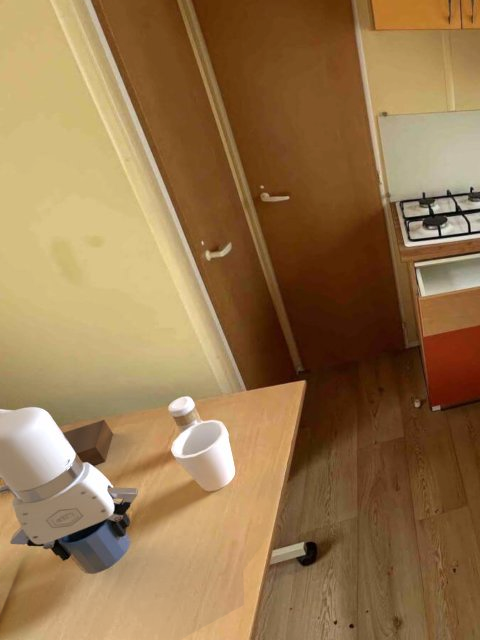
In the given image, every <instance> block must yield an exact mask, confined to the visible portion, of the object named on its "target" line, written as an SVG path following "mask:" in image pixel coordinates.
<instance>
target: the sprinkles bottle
mask: <svg viewBox="0 0 480 640" xmlns="http://www.w3.org/2000/svg"><path fill="white" fill-rule="evenodd" d="M167 410H168V412H169V415H170V416H171V417H172V418H173V420H174V422H175V425H176V426H177V428H178V431H179V433H180V434H181V433H182V432H184V431H185V430H186V429H188V428H189V427H191V426H193V425H195V424H198V423H200V422H203V421H204V420H203V419H202V418H201V416H200V415H199V412H198V410H197V409H196V405H195V402H194V400H193V398H192V397H191V396H181V397H178V398H176V399H174V400H173V401H172V402H171V403H169V405H168V406H167Z"/></svg>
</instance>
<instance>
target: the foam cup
mask: <svg viewBox="0 0 480 640" xmlns="http://www.w3.org/2000/svg"><path fill="white" fill-rule="evenodd" d="M202 421H203V422H200V423H198V424H195V425H193V426H191V427H189V428H188V429H186V430H185V431H184V432H182V433H181V432H180V433H179V434H178V436H177V437H176V438H175V439H174V440H173V442H172V445H171V448H170V452H171V453H172V455H173V457H174V458H175V461H176V462H177V464H178V465H180V466H181V467H183V469H184V470H185V471H186V472H187V473H188V474H189V476H191V477H192V479H193V480H194V481H195V482H196V484H198V485H199V486H200V488H201V489H202V490H203V491H205V492H209V493H210V492H216V491H218V490H219V491H220V489H223V488H224V487H226V486H227V485H228V484H230V483H231V482H232V480H233V478H234V477H235V474H236V467H235V462H234V458H233V457H234V456H233V453H232V448H231V444H230V439H229V432H228V429H227V427H226V426H225V424H224V423H223V421H221V420H216V419H210V420H202Z"/></svg>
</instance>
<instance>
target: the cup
mask: <svg viewBox="0 0 480 640" xmlns="http://www.w3.org/2000/svg"><path fill="white" fill-rule="evenodd" d="M131 540H132V539H131V537H130V535H129V533H128V532H127V531H126V535H125V536H123V537H119V535H118V534H117V533H116V531H115V530H114V528H113V527H112V520H108V519H105V520H104V521H101V522H99V523H97V524H94V525H92V526H89V527H87V528H84V529H82V530H79V531H77V532H74V533H72V534H69V535H67V536H64V537H62V538H59V539H58V541H59V543H60V545H61V546H62V547H63V548H64V549H65V551H66V552H67V553H68V554H69V556H70V558H71V559H72V561H73V562H74V563H75V564H76V565H77V567H79V570H81V571H82V572H83V573H84V574H86V575H87V574H88V575H95V574H98V573H101V572H104V571H106V570H108V569H110V568H111V567H113V566H114V565H116V564H117V563H118V562H119V561H120V560H121V559H122V558H123V557H124V556H125V555H126V554H127V552H128V550H129V548H130V546H131Z"/></svg>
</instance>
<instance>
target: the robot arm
mask: <svg viewBox="0 0 480 640" xmlns="http://www.w3.org/2000/svg"><path fill="white" fill-rule="evenodd" d="M63 433H64V432H62V430H61V429H60V427H59V426H58V424H57V423H56V421H55V419H53V417H52V415H51V414H50V413H49V412H48V411H47V410H45V409H44V408H41V407H37V406H28V407H22V408H18V409H17V408H16V409H2V408H0V478H1V480H2V481H3V482H4V483H5V484H2V485H0V495H5V494H12V495H13V496H14V497H13V499H12V500H11V504H12V507H13V511H14V513H15V517H16V519H17V521H18V523H19V525H20V527H19V528H18V529H17V530H16V531H15V532H14V534H12V537H11V539H10V544H11V545H21V546H22V545H27V546H28V547H42V549H43V550H51V551H52V552H53V554H54V555H55V556H56V557H59V558H60V559H61V561H63V562H65V561H67V560H69V558H71V557H70V556H69V554H68V553H67V552H66V551H65V549H64V548H63V547H62V546H61V545H60V543H59V541H58V539H59V538H62V537H64V536H67V535H69V534H72V533H74V532H77V531H79V530H82V529H84V528H87V527H89V526H92V525H94V524H97V523H99V522H101V521H104V520H105V519H108V520H112V527H113V528H114V530H115V531H116V533H117V534H118V535H119V537H123V536H125V535H126V532H127V529H128V527H130V526H131V519H130V517H129V516H128V514H127V512H128V510H129V509H130V508H131V505H132V504H133V503H134V502H135V500H136V498H137V497H138V492H139V489H138V488H136V487H115V486H114V485H113V484H112V483H111V481H110V480H109V479H108V478H107V477H106V476H105V475H104V474H103V473H102V471H100V470H99V469H98V468H97V467H96V466H95V465H94V466H92V465H91V464H89V463H88V462H85V463H82V461H81V460H80V458H79V457H78V455H77V454H76V452H75V451H74V449H73V448H72V446H71V445H70V444H69V442H68V441H67V439H66V438H65V436H64V435H63ZM118 500H121V501H118Z"/></svg>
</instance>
